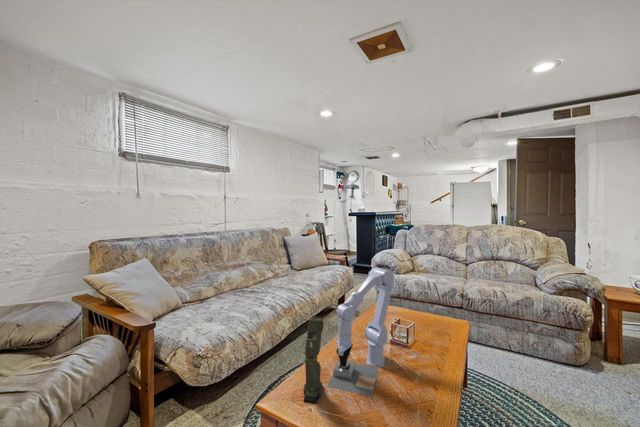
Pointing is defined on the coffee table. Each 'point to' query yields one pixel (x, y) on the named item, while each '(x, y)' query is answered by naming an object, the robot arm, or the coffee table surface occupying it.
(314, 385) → the mechanical leg
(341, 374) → the block
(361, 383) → the cork pad
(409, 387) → the coffee table surface
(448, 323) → the coffee table surface
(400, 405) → the coffee table surface
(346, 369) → the gold capped metal cylinder
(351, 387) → the mat
